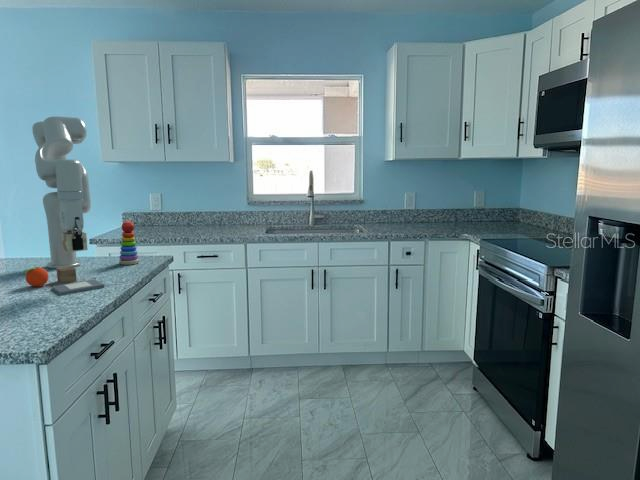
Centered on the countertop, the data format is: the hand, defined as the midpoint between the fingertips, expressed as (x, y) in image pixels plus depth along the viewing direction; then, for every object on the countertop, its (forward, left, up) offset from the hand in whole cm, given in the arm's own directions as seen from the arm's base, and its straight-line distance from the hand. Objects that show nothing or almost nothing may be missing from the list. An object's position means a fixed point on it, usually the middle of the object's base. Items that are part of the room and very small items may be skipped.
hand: (75, 248), depth 153 cm
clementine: (-13, -10, -15) cm, 22 cm away
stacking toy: (-28, +29, -15) cm, 43 cm away
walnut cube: (-13, 0, -15) cm, 20 cm away
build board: (0, 0, -14) cm, 14 cm away
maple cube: (0, 0, -1) cm, 1 cm away
